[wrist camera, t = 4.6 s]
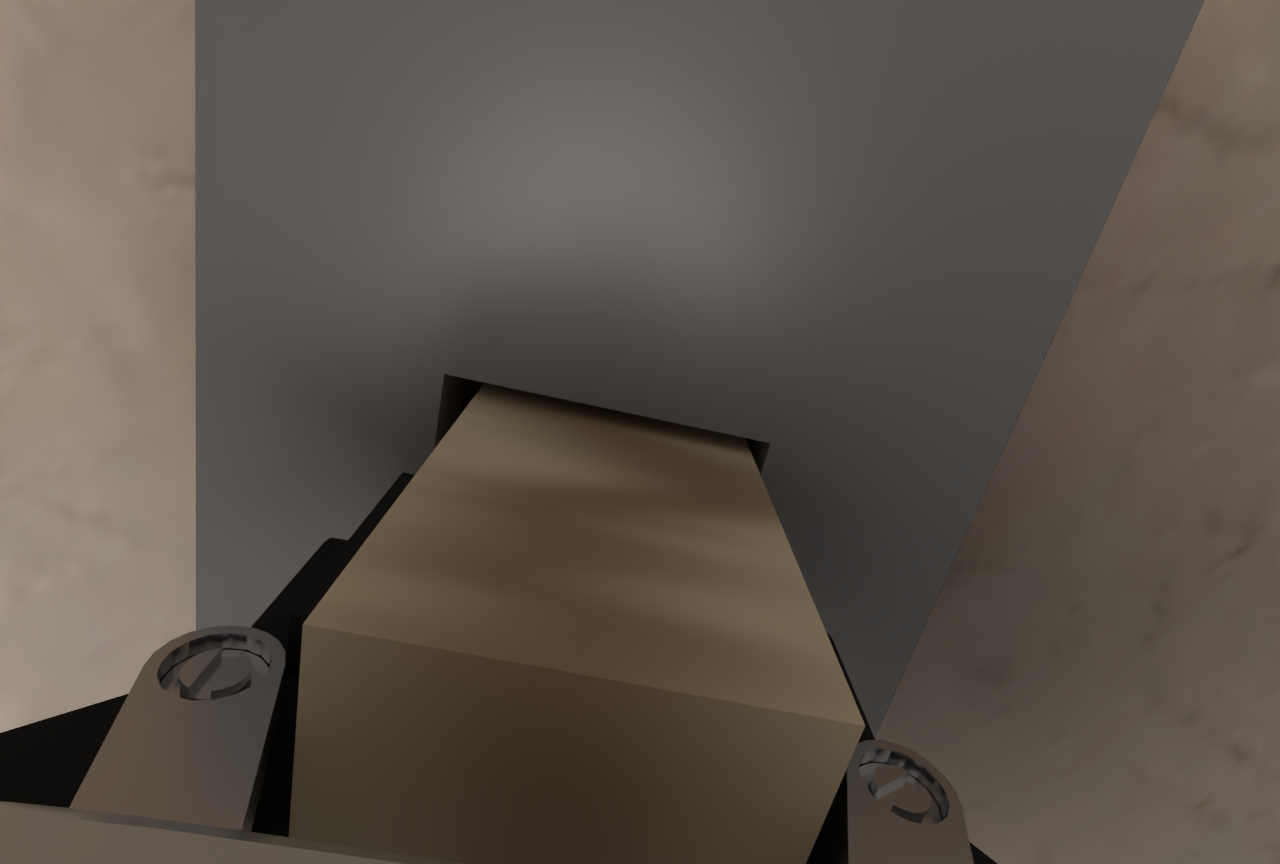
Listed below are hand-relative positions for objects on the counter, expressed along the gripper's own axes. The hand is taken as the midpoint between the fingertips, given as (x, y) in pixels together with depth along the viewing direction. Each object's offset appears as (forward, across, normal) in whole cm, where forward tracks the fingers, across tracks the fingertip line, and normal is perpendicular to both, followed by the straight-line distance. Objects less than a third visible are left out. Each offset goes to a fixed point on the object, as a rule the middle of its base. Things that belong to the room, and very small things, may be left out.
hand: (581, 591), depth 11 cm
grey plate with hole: (+3, 0, 0) cm, 3 cm away
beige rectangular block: (+3, 0, 0) cm, 3 cm away
